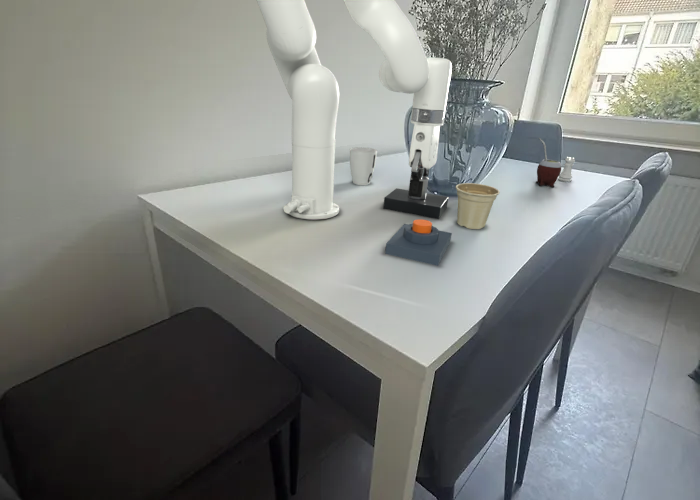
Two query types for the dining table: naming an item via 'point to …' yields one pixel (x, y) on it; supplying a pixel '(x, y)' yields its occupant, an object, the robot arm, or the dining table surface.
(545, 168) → the mate gourd
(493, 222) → the dining table surface
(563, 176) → the rook chess piece
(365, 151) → the cup
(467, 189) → the flower pot
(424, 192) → the dial
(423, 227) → the button
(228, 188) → the dining table surface
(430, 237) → the button housing
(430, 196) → the panel
